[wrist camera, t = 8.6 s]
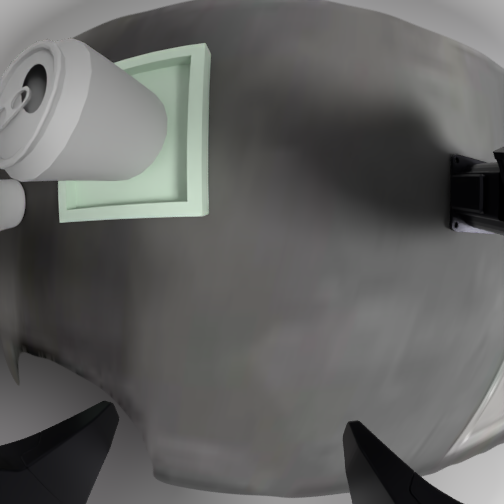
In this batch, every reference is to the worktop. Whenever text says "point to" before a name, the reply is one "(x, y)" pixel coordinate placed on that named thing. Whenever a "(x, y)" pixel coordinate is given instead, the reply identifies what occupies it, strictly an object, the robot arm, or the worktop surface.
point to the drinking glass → (11, 203)
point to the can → (76, 116)
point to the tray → (171, 155)
